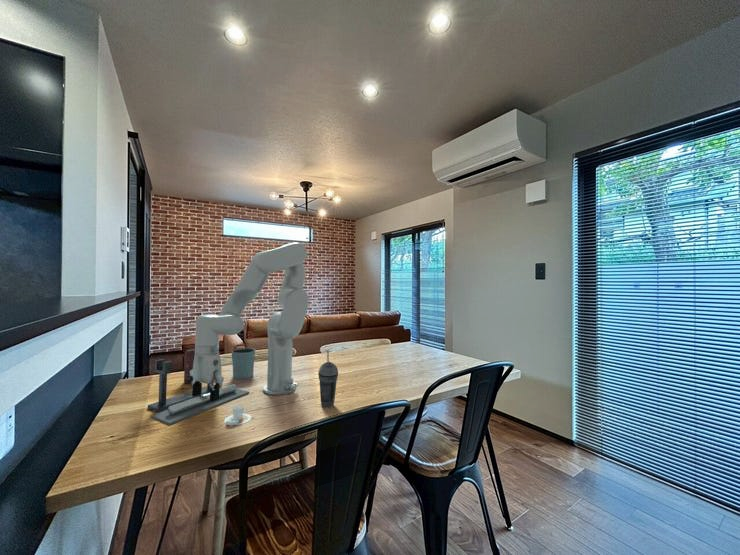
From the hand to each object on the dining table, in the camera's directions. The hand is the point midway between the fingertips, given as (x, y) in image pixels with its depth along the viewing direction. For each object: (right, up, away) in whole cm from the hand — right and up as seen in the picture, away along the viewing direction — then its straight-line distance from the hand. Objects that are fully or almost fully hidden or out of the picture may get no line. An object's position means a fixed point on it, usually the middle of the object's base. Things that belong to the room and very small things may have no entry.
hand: (205, 397), depth 107 cm
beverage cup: (+43, -4, +2) cm, 43 cm away
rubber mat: (0, -2, 0) cm, 2 cm away
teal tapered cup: (0, -3, +31) cm, 31 cm away
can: (-18, -2, +22) cm, 29 cm away
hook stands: (-9, -2, +5) cm, 10 cm away
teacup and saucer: (+13, -3, -12) cm, 18 cm away
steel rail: (0, 0, 0) cm, 0 cm away
